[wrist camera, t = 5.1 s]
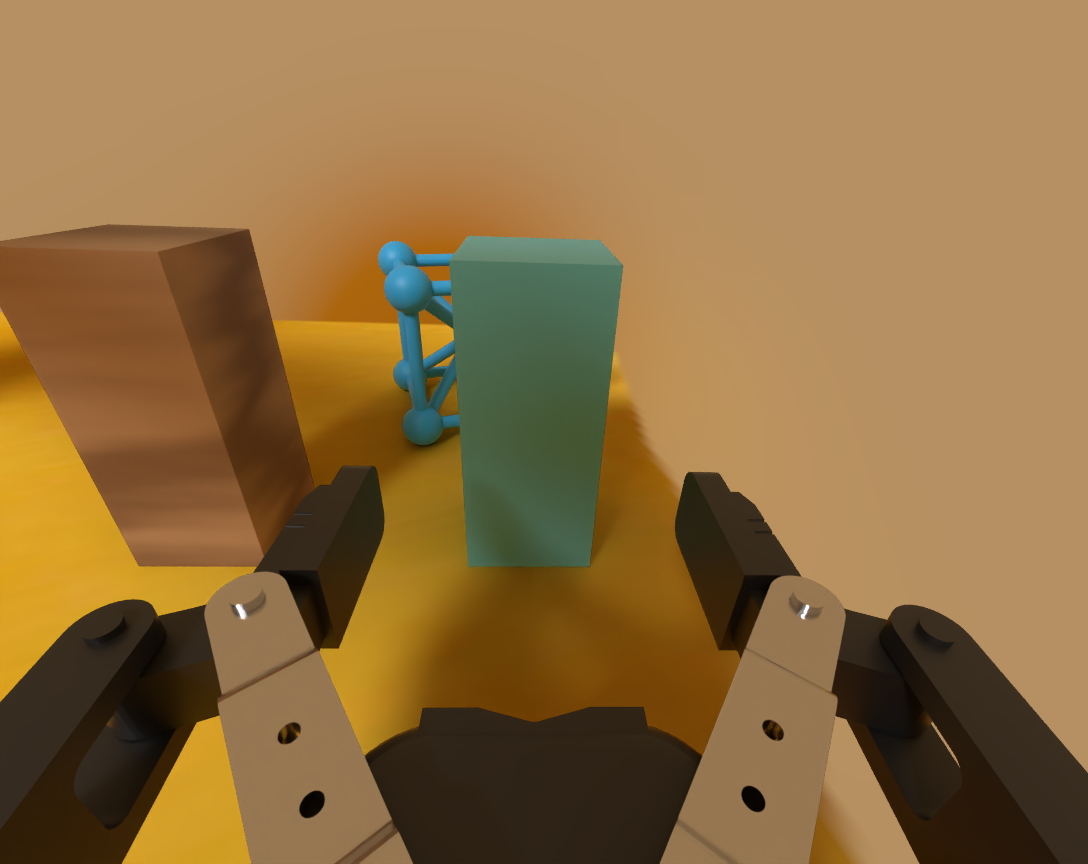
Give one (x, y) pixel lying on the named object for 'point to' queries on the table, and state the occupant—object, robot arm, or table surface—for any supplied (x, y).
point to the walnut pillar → (164, 383)
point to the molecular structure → (419, 337)
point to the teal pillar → (532, 393)
